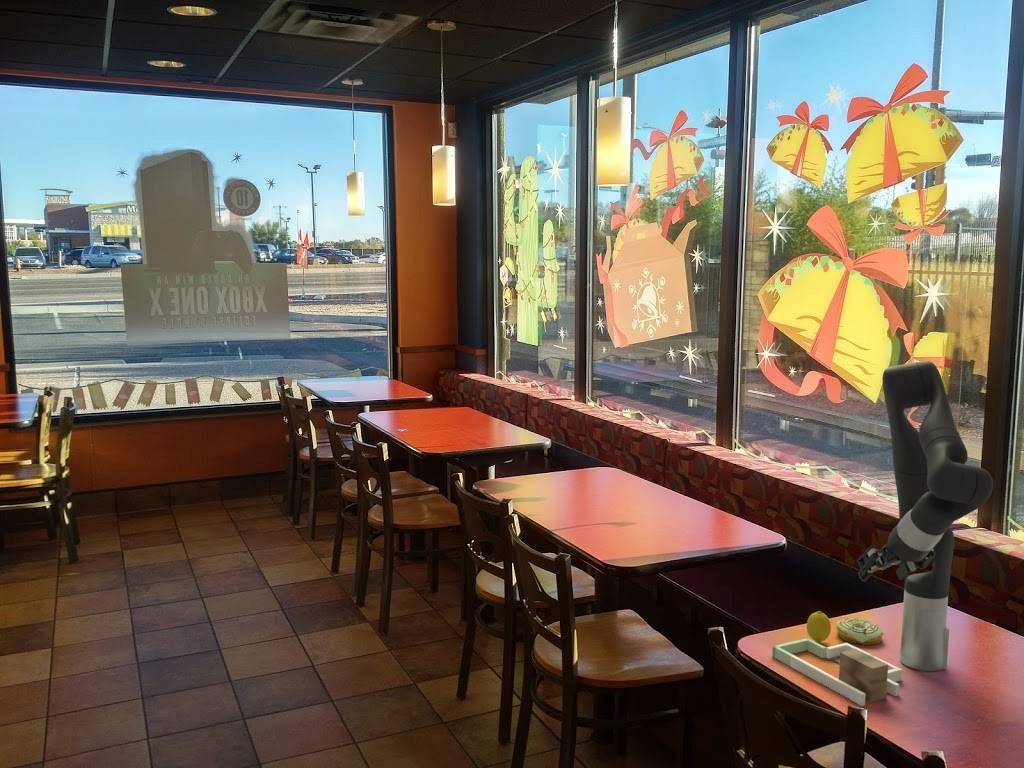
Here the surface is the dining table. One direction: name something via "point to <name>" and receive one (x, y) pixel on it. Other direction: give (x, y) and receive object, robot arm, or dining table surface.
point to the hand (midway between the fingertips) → (880, 576)
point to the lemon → (818, 626)
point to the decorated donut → (859, 631)
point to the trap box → (839, 685)
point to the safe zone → (797, 649)
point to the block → (864, 673)
